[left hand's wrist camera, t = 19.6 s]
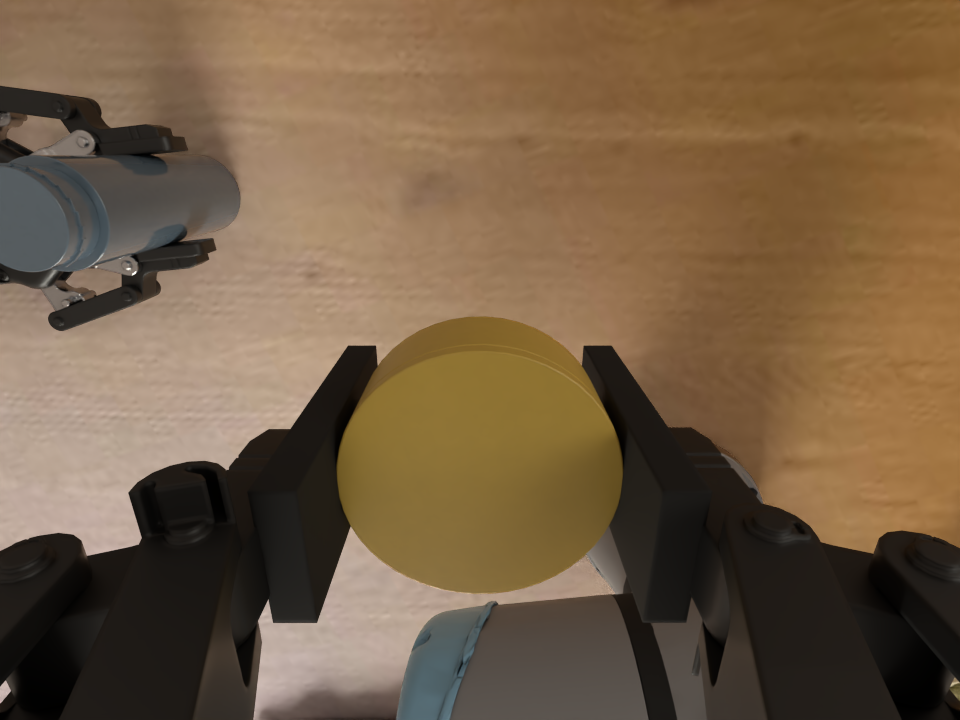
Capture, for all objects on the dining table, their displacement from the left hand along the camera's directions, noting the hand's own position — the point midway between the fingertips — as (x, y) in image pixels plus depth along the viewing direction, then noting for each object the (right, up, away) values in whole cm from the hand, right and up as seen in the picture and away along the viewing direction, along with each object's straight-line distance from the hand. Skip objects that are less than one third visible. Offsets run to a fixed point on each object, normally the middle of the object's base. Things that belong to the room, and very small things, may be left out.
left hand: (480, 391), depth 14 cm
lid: (0, -2, -4) cm, 4 cm away
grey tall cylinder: (-19, +12, +21) cm, 31 cm away
